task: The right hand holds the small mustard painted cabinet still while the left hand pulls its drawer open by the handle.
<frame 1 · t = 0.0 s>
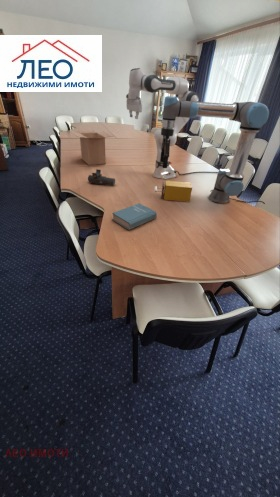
left hand: (133, 118, 170), 48 cm above the table, tool pointing down, fingers open, 8 cm apart
right hand: (163, 164, 143), 28 cm above the table, tool pointing down, fingers open, 13 cm apart
drawer: (170, 190, 168), point 5 cm above the table, slide at 0.8 cm
book: (134, 219, 139), on the table
laser sight: (101, 184, 185), on the table
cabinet: (176, 197, 171), on the table
box: (93, 161, 237), on the table
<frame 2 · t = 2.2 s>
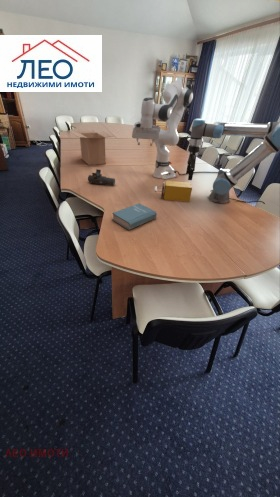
left hand: (144, 145, 167), 32 cm above the table, tool pointing down, fingers open, 8 cm apart
right hand: (188, 176, 161), 17 cm above the table, tool pointing down, fingers open, 13 cm apart
nothing on the table moved.
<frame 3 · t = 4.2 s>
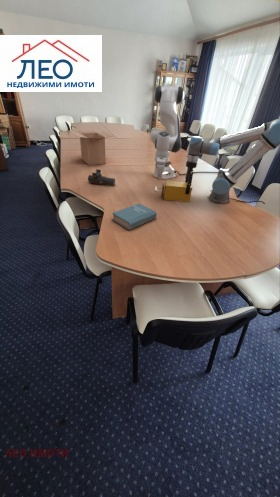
left hand: (159, 177, 164), 14 cm above the table, tool pointing down, fingers open, 8 cm apart
right hand: (186, 191, 168), 6 cm above the table, tool pointing down, fingers closed on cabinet, 11 cm apart
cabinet: (176, 197, 171), on the table, touching right hand
everything else where it was.
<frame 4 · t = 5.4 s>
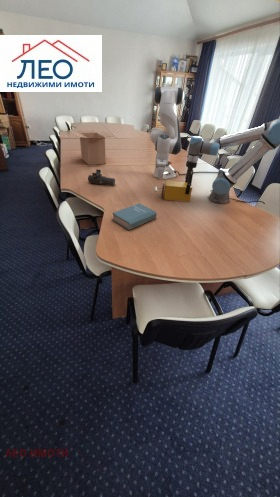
left hand: (159, 179, 164), 13 cm above the table, tool pointing down, fingers closed
right hand: (186, 191, 168), 6 cm above the table, tool pointing down, fingers closed on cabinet, 11 cm apart
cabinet: (176, 197, 171), on the table, touching right hand
everything else where it was.
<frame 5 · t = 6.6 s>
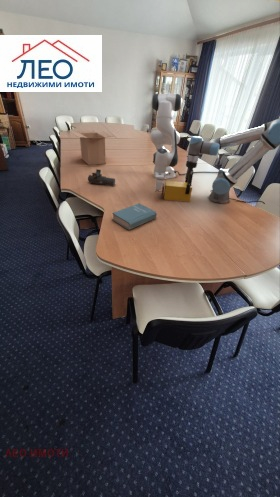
left hand: (157, 191, 169), 4 cm above the table, tool pointing down, fingers closed, pressing on drawer
right hand: (186, 191, 168), 6 cm above the table, tool pointing down, fingers closed on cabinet, 11 cm apart
drawer: (170, 190, 168), point 5 cm above the table, slide at 0.8 cm, touching left hand
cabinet: (176, 197, 171), on the table, touching right hand
everything else where it was.
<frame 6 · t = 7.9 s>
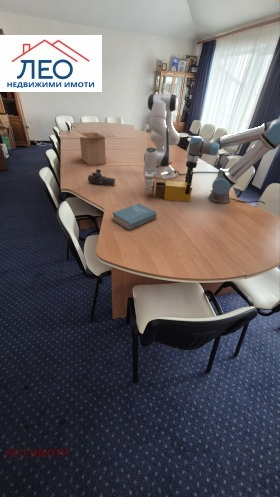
left hand: (147, 190, 170), 4 cm above the table, tool pointing down, fingers closed, pressing on drawer
right hand: (186, 191, 168), 6 cm above the table, tool pointing down, fingers closed on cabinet, 11 cm apart
drawer: (160, 189, 169), point 5 cm above the table, slide at 8.3 cm, touching left hand
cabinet: (176, 197, 171), on the table, touching right hand
everything else where it was.
when the right hand's fingers open (6 cm above the table, at t = 9.5 s): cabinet stays where it is, on the table.
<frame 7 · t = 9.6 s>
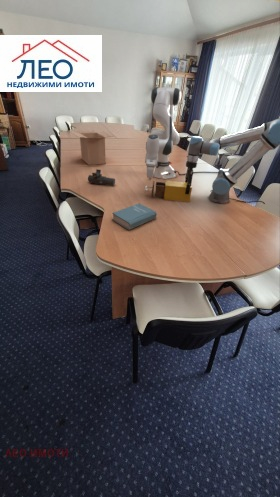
left hand: (149, 179, 165), 12 cm above the table, tool pointing down, fingers closed
right hand: (186, 191, 168), 6 cm above the table, tool pointing down, fingers open, 11 cm apart
drawer: (160, 189, 169), point 5 cm above the table, slide at 8.3 cm
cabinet: (176, 197, 171), on the table
everything else where it was.
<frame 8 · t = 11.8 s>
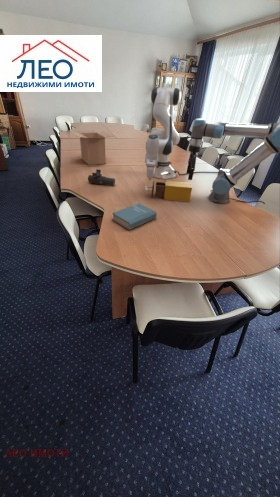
left hand: (149, 179, 165), 12 cm above the table, tool pointing down, fingers closed
right hand: (189, 176, 161), 17 cm above the table, tool pointing down, fingers open, 13 cm apart
nothing on the table moved.
at the end: drawer slide at 8.3 cm; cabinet tilted 0°; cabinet never tilted more than 1° during the clip; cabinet moved 0.0 cm from its start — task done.
